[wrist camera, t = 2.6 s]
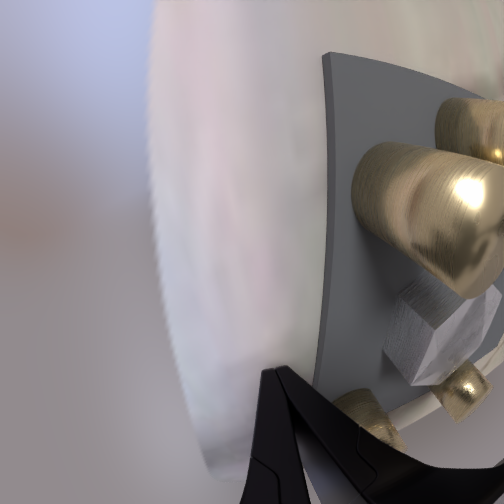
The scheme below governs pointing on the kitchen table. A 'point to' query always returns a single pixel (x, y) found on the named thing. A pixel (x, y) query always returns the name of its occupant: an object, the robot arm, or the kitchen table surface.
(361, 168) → the brass spacers
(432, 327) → the clear faceted crystal
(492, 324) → the mat
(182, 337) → the kitchen table surface
